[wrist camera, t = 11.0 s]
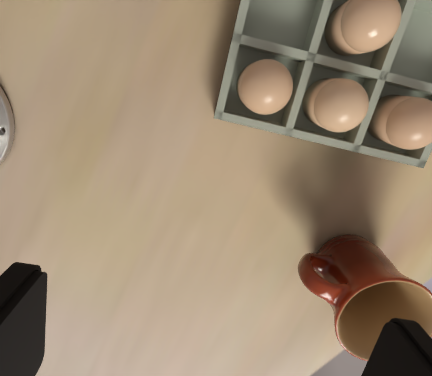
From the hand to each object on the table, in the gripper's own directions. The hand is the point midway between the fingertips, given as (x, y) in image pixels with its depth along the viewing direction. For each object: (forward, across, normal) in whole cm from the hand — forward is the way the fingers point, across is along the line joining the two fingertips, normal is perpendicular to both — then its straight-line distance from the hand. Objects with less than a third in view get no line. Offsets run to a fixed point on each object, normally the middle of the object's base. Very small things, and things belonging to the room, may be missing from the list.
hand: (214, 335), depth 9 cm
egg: (+25, -10, -13) cm, 30 cm away
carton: (+25, -10, -10) cm, 29 cm away
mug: (+26, -16, +10) cm, 32 cm away
